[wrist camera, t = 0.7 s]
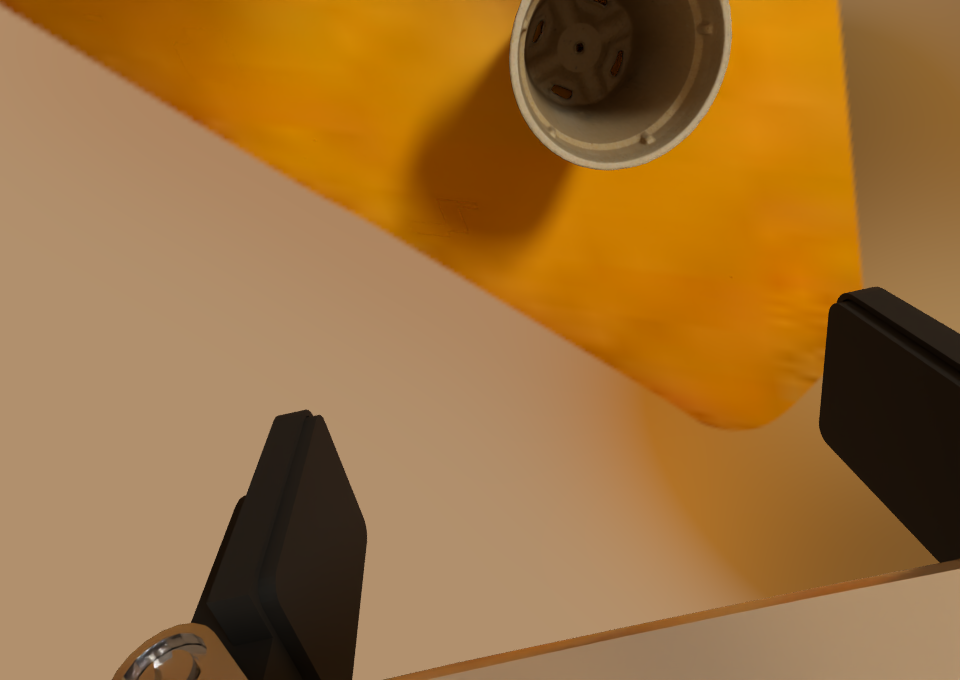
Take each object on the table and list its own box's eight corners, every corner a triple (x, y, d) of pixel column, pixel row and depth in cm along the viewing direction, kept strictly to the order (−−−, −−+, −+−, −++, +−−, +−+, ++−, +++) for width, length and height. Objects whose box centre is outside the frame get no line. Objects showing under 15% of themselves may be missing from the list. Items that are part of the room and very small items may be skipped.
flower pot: (496, 146, 35) (516, 181, 27) (482, -46, 31) (502, -68, 23) (656, 128, 35) (720, 159, 28) (665, -64, 31) (745, -91, 23)
